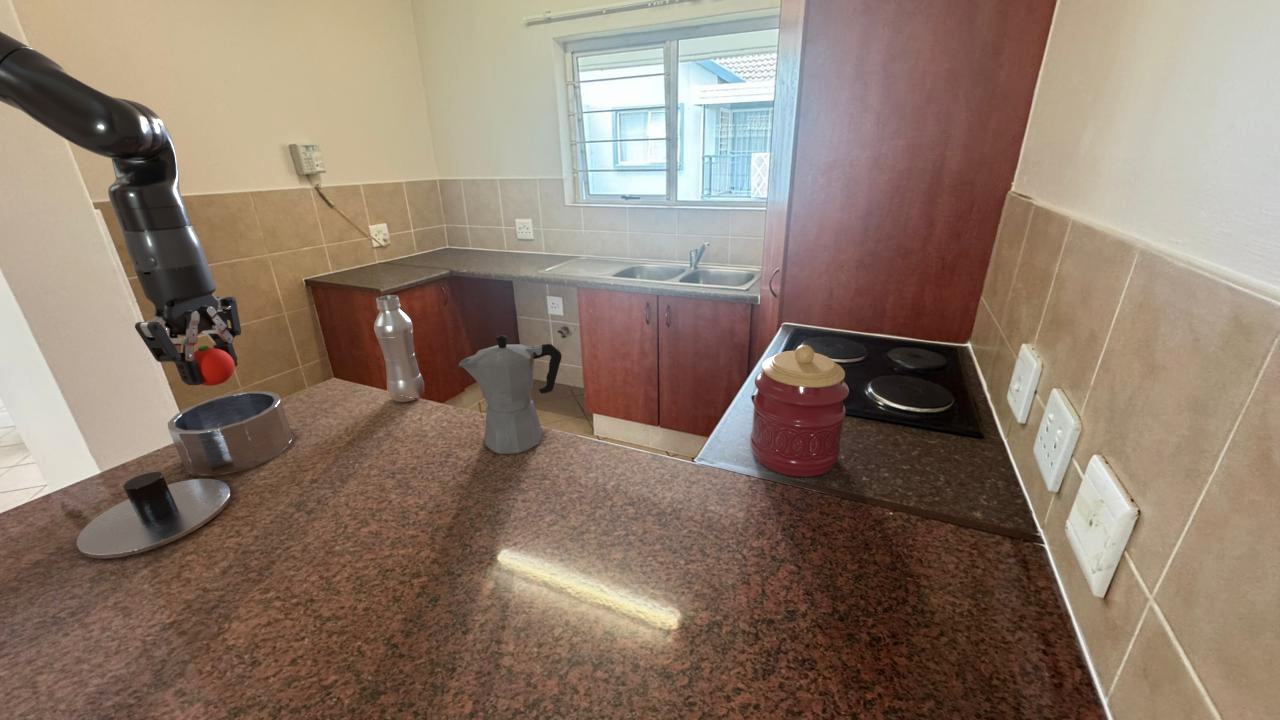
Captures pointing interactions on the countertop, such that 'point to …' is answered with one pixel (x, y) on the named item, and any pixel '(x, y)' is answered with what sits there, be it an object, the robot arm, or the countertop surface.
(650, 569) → the countertop surface
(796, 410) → the kitchen canister
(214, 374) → the tomato
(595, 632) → the countertop surface
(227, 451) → the saucepan
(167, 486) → the pan lid
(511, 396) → the coffeepot
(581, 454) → the countertop surface
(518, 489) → the countertop surface
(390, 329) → the plastic bottle
